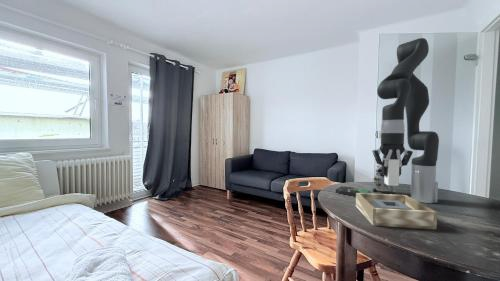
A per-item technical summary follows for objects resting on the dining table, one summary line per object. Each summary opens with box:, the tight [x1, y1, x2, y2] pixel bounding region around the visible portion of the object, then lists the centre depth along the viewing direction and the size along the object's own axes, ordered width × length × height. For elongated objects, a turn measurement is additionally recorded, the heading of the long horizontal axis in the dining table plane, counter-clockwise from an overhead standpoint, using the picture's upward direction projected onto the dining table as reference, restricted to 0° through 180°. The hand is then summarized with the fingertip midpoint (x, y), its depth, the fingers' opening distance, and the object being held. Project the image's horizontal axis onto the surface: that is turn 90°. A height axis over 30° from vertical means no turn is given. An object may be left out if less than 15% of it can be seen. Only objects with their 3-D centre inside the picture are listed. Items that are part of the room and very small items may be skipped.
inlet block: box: [372, 199, 412, 210], centre depth 85 cm, size 10×10×4 cm
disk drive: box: [335, 185, 371, 198], centre depth 116 cm, size 10×3×15 cm
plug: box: [384, 157, 400, 187], centre depth 84 cm, size 4×4×13 cm
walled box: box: [355, 193, 438, 231], centre depth 85 cm, size 20×20×6 cm
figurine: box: [372, 164, 394, 195], centre depth 116 cm, size 9×12×15 cm
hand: (391, 175), depth 85 cm, fingers closed on plug, 3 cm apart
